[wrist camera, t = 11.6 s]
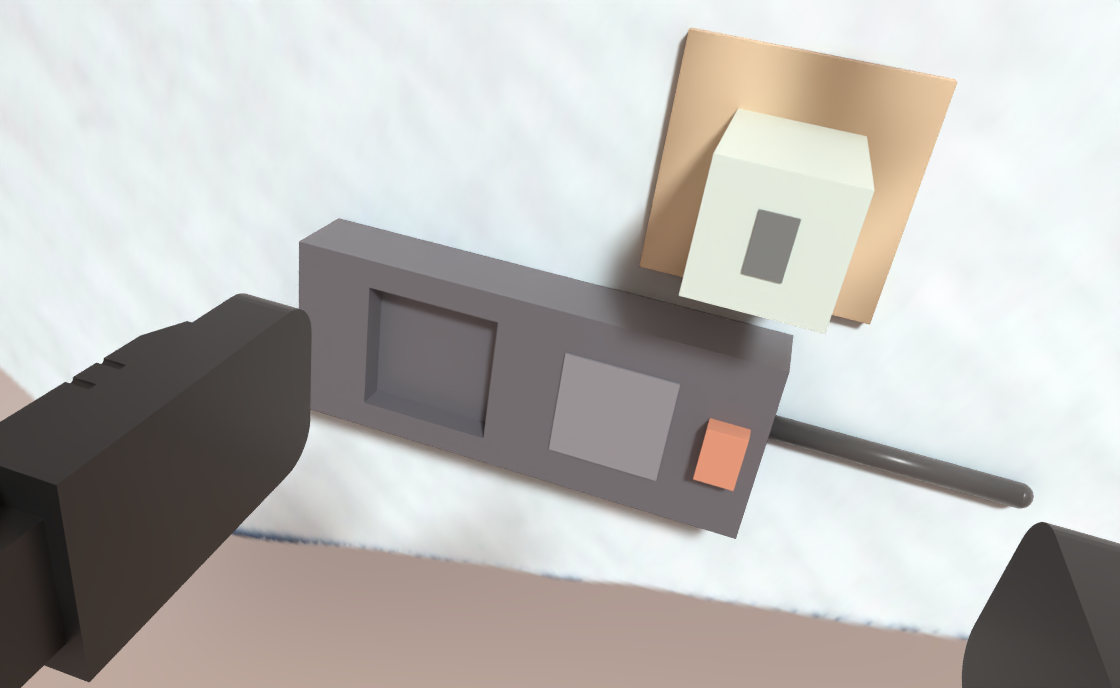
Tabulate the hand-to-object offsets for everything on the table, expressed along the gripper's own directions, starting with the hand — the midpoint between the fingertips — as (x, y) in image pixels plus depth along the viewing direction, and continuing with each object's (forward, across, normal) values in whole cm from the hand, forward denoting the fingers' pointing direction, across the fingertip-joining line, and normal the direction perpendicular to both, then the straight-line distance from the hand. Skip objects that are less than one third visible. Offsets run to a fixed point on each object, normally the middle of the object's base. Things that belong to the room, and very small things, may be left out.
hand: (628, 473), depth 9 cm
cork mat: (+24, -2, +3) cm, 24 cm away
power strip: (+24, +1, +13) cm, 27 cm away
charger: (+24, -2, +3) cm, 24 cm away
